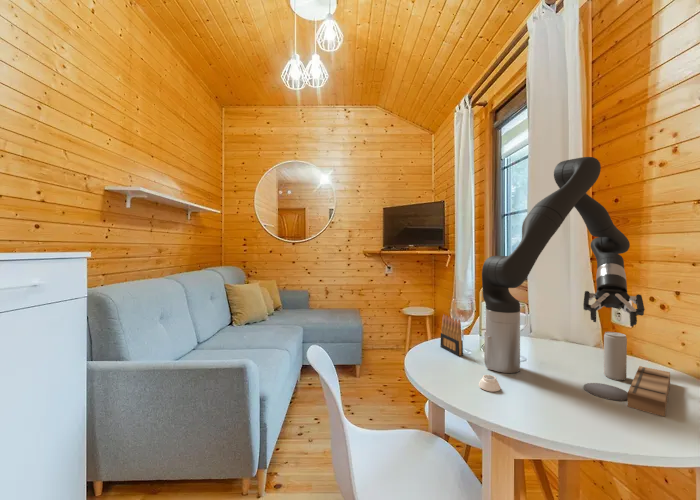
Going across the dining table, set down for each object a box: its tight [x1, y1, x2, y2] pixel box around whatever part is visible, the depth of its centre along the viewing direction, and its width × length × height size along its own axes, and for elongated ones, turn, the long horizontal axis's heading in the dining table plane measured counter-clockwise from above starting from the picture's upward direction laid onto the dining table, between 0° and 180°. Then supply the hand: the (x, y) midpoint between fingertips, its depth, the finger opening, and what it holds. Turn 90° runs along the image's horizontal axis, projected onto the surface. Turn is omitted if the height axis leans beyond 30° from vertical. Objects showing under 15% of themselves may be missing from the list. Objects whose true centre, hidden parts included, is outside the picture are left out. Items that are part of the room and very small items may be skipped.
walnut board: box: [626, 365, 671, 417], centre depth 78 cm, size 24×6×3 cm, turn 133°
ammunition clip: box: [439, 313, 464, 357], centre depth 110 cm, size 11×2×12 cm, turn 17°
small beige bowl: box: [478, 374, 501, 393], centre depth 81 cm, size 5×3×5 cm
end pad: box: [583, 382, 628, 402], centre depth 79 cm, size 9×9×1 cm
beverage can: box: [603, 331, 628, 381], centre depth 88 cm, size 5×5×12 cm
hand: (613, 322), depth 94 cm, fingers open, 8 cm apart
